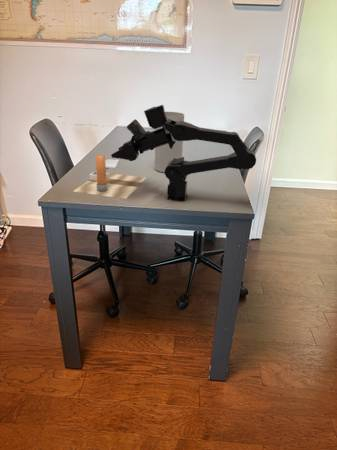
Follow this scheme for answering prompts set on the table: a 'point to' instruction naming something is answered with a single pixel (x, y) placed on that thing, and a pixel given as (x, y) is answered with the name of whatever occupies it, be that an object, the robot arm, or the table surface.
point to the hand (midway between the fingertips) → (115, 152)
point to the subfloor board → (113, 186)
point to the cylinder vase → (164, 152)
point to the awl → (101, 173)
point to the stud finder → (95, 176)
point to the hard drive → (111, 164)
